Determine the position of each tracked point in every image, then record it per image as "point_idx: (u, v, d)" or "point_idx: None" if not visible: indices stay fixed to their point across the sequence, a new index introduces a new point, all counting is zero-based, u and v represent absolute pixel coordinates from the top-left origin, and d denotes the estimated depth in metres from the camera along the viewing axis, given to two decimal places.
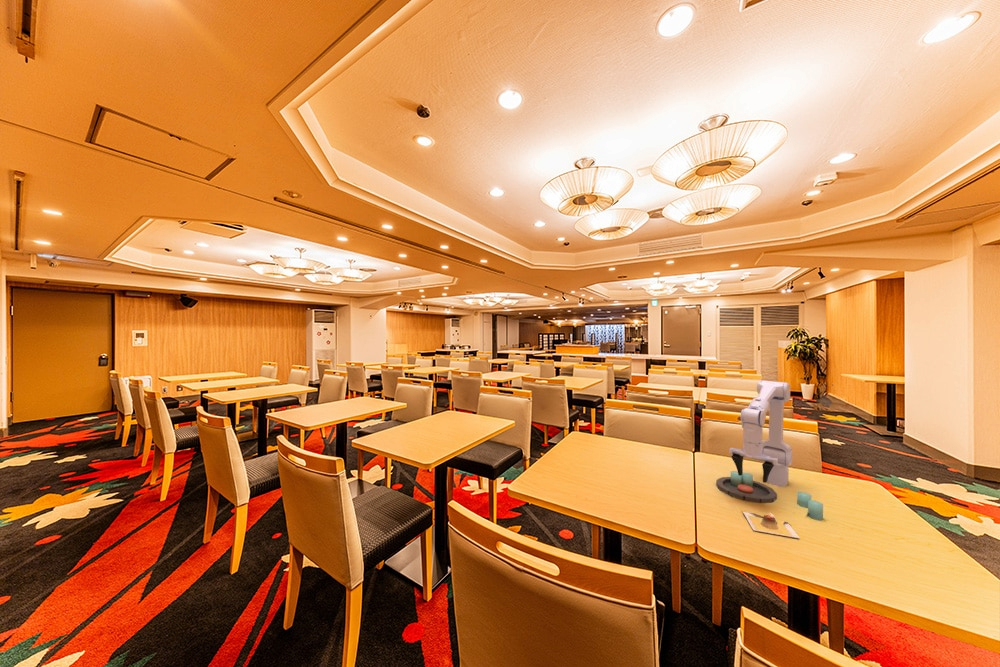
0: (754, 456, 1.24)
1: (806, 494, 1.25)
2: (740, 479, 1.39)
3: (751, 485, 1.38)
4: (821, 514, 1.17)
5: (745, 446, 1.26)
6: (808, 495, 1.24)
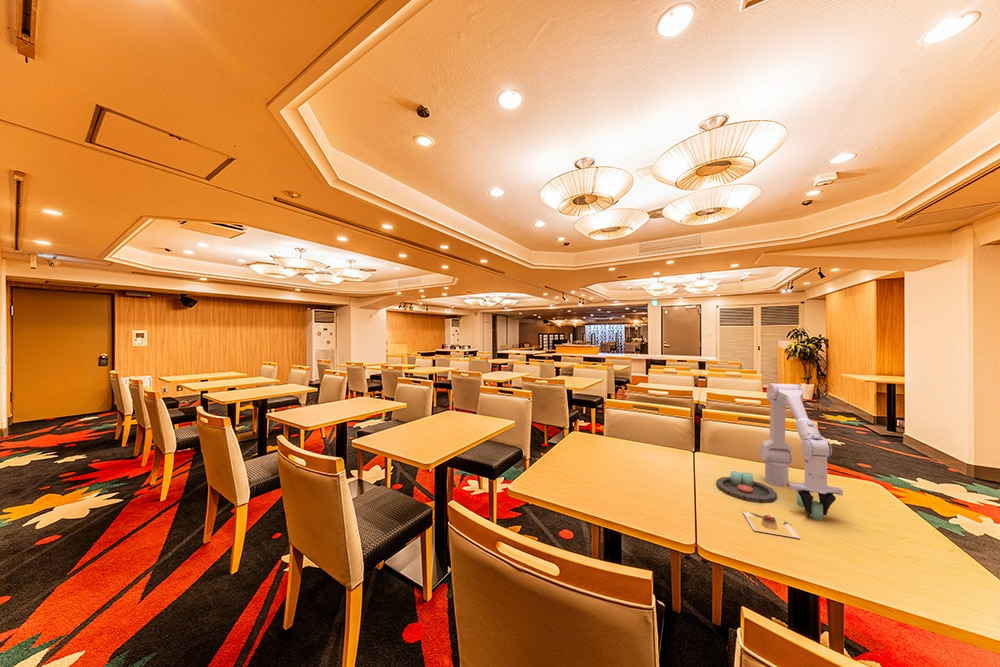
0: (825, 491, 1.16)
1: None
2: (740, 479, 1.39)
3: (751, 485, 1.38)
4: (821, 514, 1.17)
5: (815, 481, 1.16)
6: None
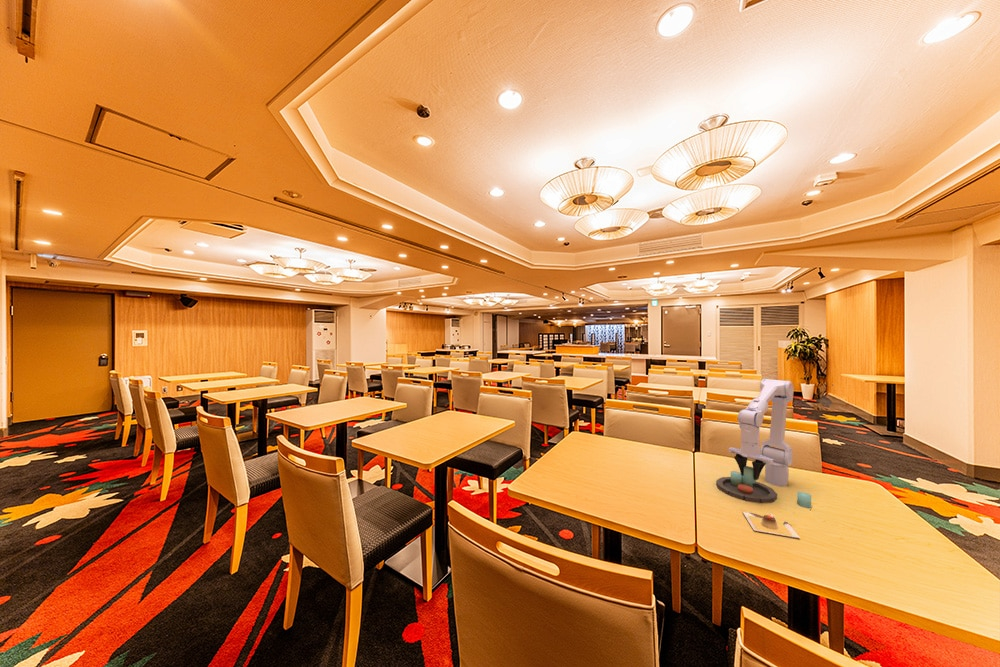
0: (750, 456, 1.29)
1: (806, 494, 1.25)
2: (740, 479, 1.39)
3: (751, 485, 1.38)
4: (749, 477, 1.30)
5: (742, 446, 1.31)
6: (808, 495, 1.24)
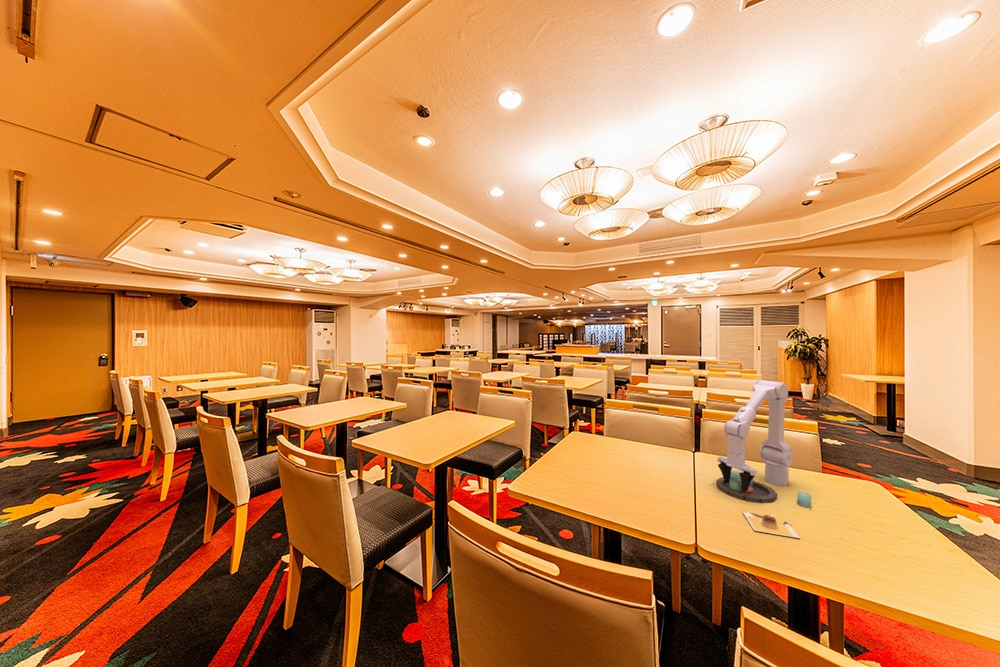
0: (734, 465, 1.32)
1: (806, 494, 1.25)
2: (740, 479, 1.39)
3: (751, 485, 1.38)
4: (734, 489, 1.33)
5: (727, 455, 1.35)
6: (808, 495, 1.24)
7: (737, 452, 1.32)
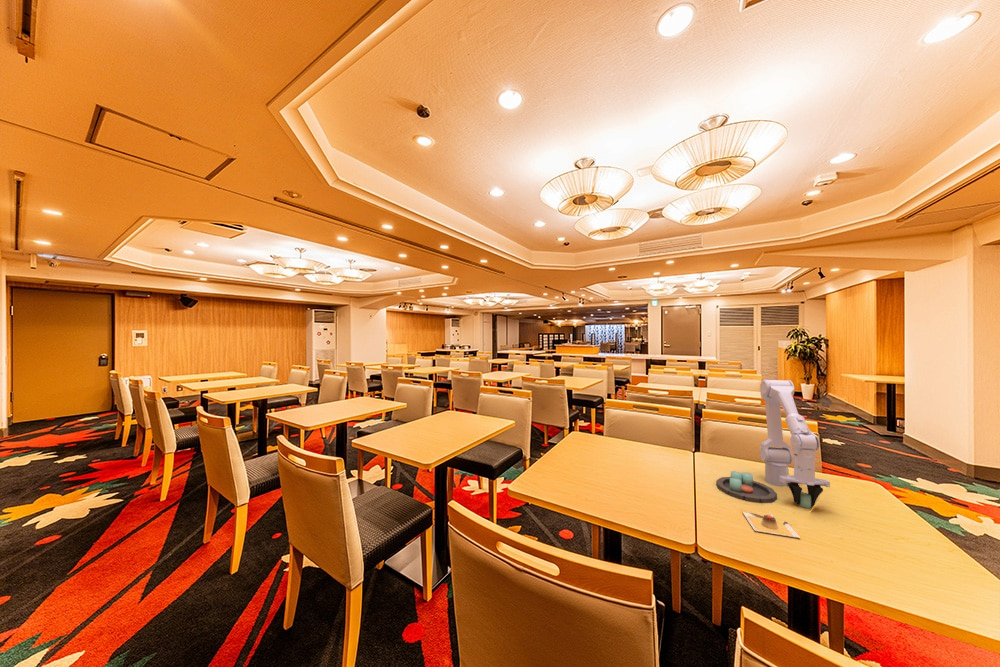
0: (813, 483, 1.22)
1: (806, 494, 1.25)
2: (740, 479, 1.39)
3: (751, 485, 1.38)
4: (734, 489, 1.33)
5: (803, 473, 1.23)
6: (808, 495, 1.24)
7: (814, 467, 1.22)
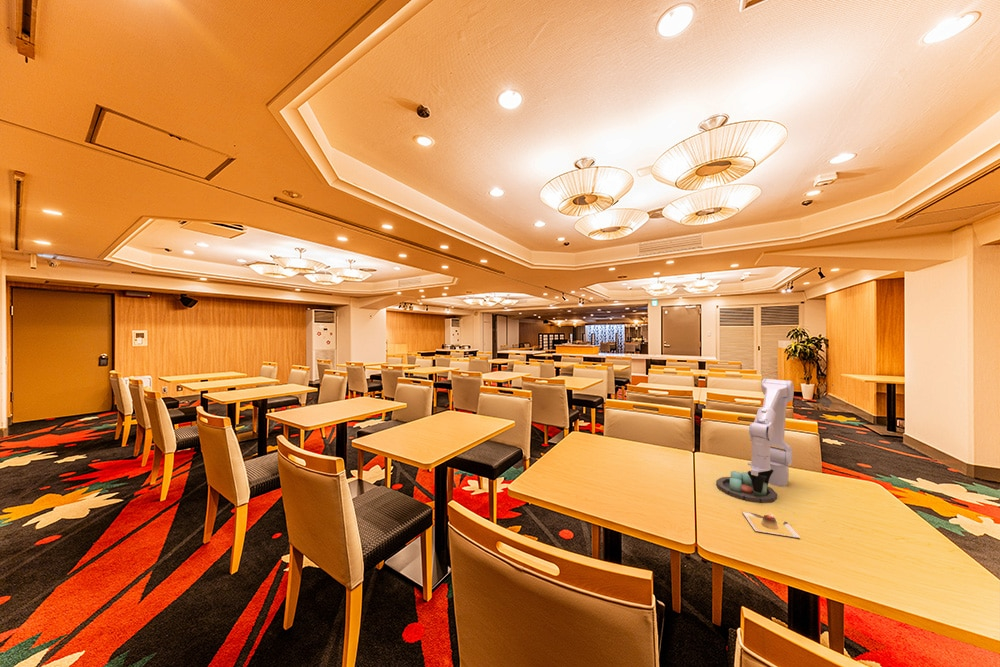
0: (751, 465, 1.33)
1: None
2: (740, 479, 1.39)
3: (751, 485, 1.38)
4: (734, 489, 1.33)
5: None
6: None
7: (765, 455, 1.29)
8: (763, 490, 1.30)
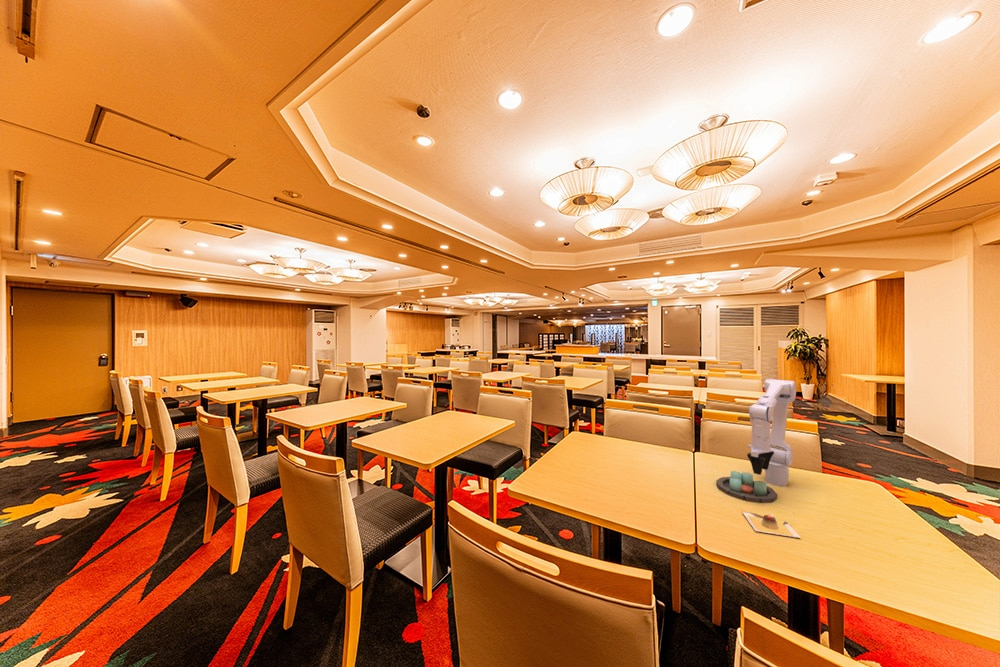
0: (751, 447, 1.33)
1: (760, 483, 1.31)
2: (740, 479, 1.39)
3: (751, 485, 1.38)
4: (734, 489, 1.33)
5: None
6: (757, 482, 1.32)
7: (765, 436, 1.29)
8: (763, 490, 1.30)
